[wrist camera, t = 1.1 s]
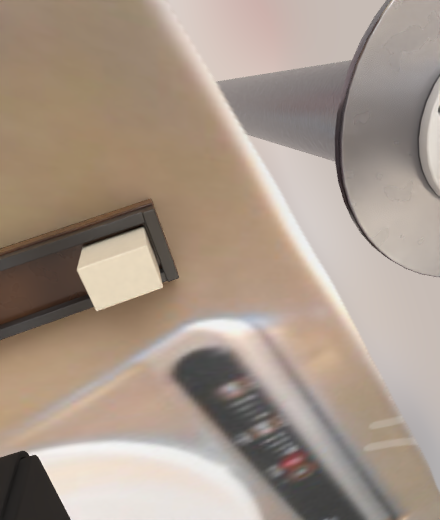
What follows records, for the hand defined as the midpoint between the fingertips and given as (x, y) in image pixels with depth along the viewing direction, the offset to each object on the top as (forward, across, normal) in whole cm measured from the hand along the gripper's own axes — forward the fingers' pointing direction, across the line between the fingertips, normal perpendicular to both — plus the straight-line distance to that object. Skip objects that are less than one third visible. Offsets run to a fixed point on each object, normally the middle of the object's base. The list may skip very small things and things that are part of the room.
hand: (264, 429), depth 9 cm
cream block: (+19, +4, +2) cm, 19 cm away
